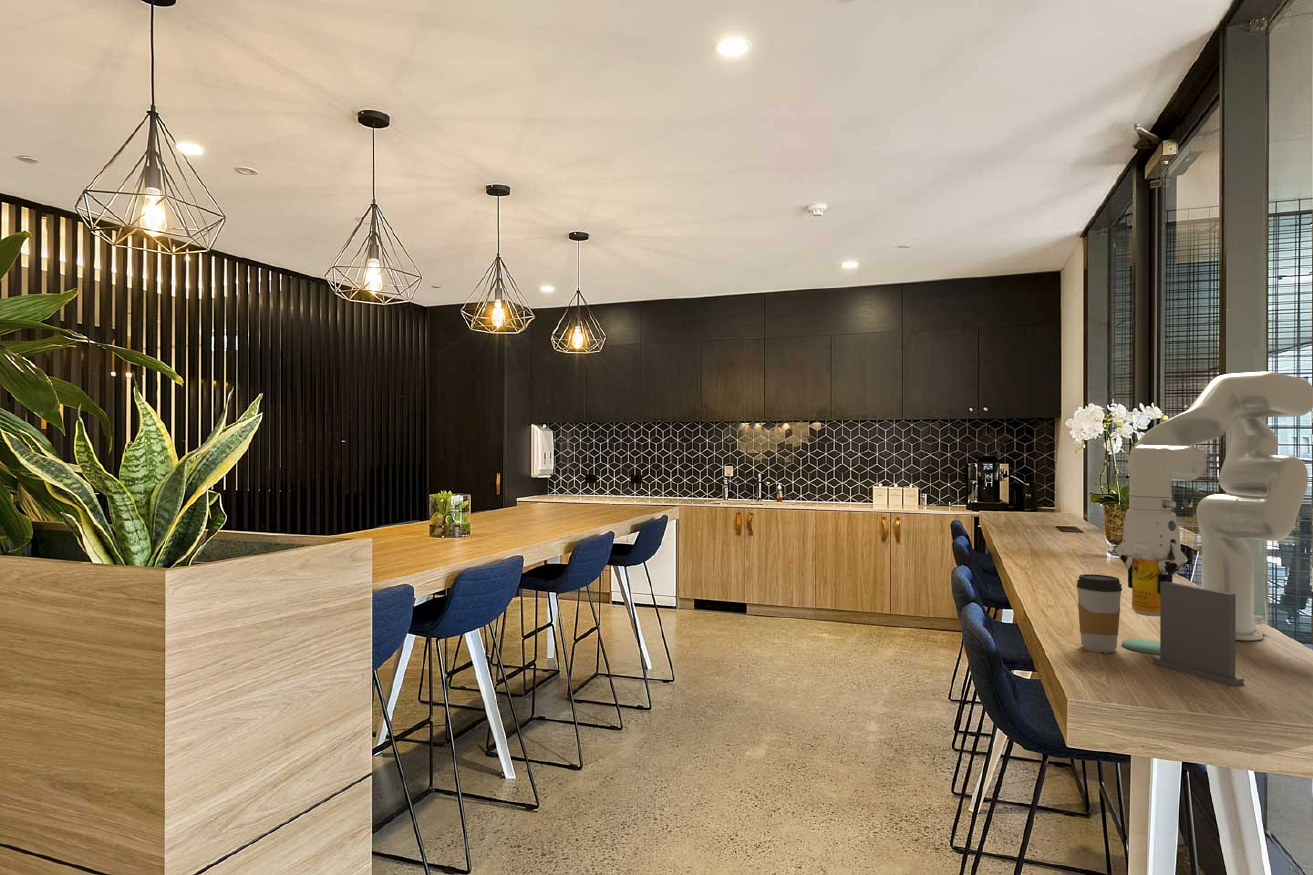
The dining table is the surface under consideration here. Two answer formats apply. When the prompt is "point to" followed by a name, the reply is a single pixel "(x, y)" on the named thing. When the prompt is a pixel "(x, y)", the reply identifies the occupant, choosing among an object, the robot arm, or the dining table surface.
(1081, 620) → the coffee cup
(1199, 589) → the screen
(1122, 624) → the dining table surface
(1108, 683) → the dining table surface
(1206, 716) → the dining table surface
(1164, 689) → the dining table surface
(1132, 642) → the coaster
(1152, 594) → the beer can
